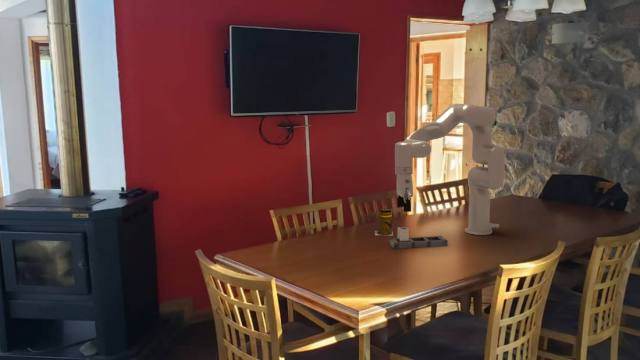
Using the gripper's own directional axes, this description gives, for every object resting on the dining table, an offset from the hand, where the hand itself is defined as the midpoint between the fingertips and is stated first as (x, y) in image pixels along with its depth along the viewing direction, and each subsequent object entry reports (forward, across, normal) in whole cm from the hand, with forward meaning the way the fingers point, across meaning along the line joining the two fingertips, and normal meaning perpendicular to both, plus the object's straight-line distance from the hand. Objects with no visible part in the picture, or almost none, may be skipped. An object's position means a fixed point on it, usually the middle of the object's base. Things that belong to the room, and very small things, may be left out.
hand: (404, 209), depth 248 cm
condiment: (+17, +22, +4) cm, 28 cm away
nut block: (+16, 0, +1) cm, 17 cm away
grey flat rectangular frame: (+17, 0, -6) cm, 18 cm away
